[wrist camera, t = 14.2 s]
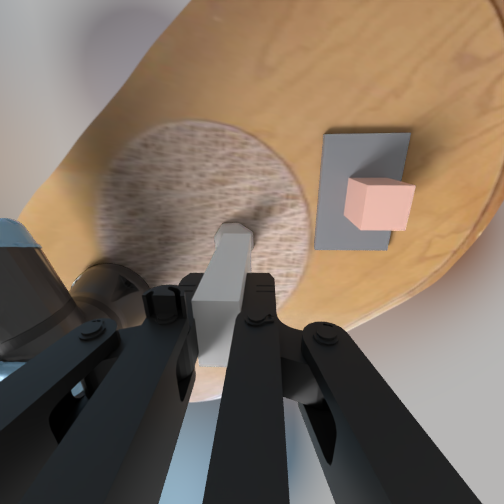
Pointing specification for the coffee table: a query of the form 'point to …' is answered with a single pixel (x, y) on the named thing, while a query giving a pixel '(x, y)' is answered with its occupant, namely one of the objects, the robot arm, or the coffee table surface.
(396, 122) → the coffee table surface
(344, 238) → the post board
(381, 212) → the pink upright block
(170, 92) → the coffee table surface
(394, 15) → the coffee table surface
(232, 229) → the flask
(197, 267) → the coffee table surface
